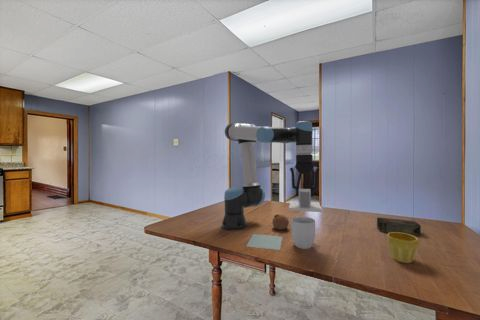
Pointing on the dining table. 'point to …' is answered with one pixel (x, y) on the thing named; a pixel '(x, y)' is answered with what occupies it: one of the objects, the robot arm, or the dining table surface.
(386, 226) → the beverage carton
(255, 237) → the mat
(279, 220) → the onion
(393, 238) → the plant pot
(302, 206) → the lid
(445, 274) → the dining table surface
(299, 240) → the mug
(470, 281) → the dining table surface
